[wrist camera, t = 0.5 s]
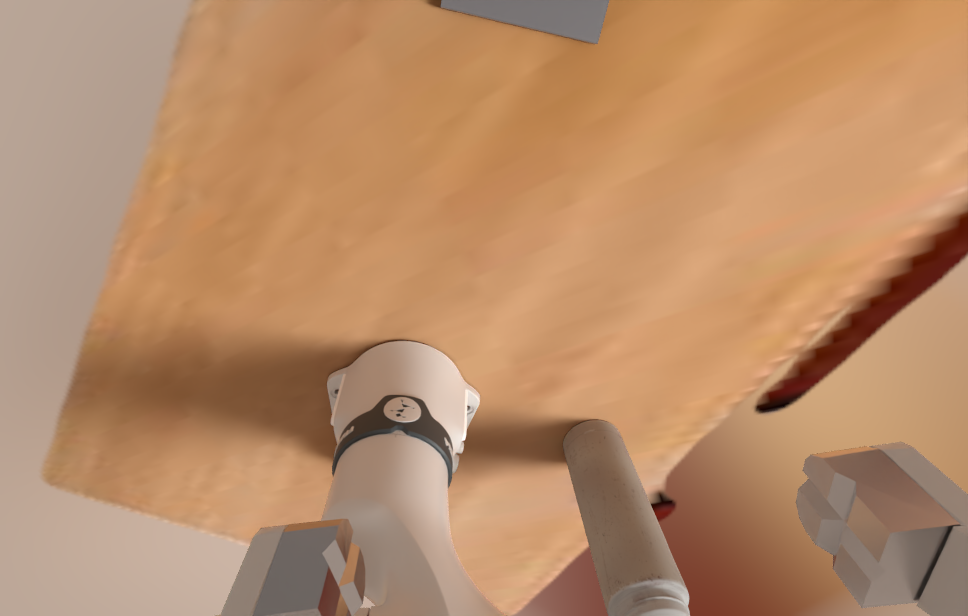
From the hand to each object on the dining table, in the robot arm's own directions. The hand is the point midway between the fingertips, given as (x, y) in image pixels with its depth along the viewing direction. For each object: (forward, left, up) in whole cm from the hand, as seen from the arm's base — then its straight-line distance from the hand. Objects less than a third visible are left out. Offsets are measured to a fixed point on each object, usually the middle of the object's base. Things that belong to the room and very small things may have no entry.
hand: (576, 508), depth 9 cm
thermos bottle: (-36, -23, -44) cm, 61 cm away
